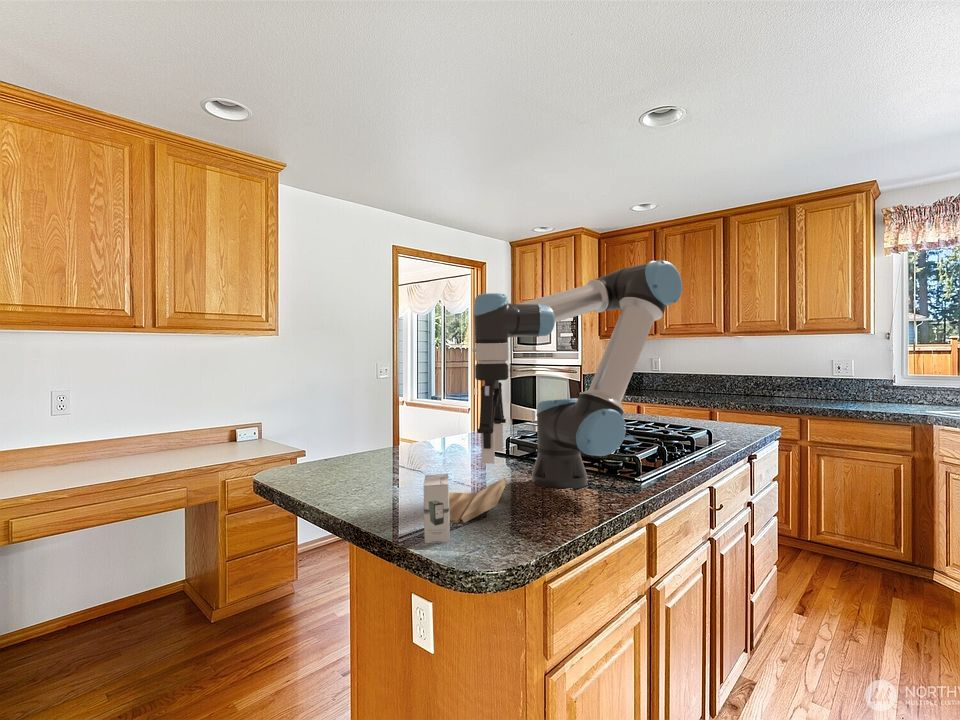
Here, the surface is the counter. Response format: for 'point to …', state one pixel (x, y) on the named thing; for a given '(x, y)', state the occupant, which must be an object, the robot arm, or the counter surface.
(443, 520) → the ink box
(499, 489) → the plank
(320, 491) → the counter surface
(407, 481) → the counter surface
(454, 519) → the floor strip
